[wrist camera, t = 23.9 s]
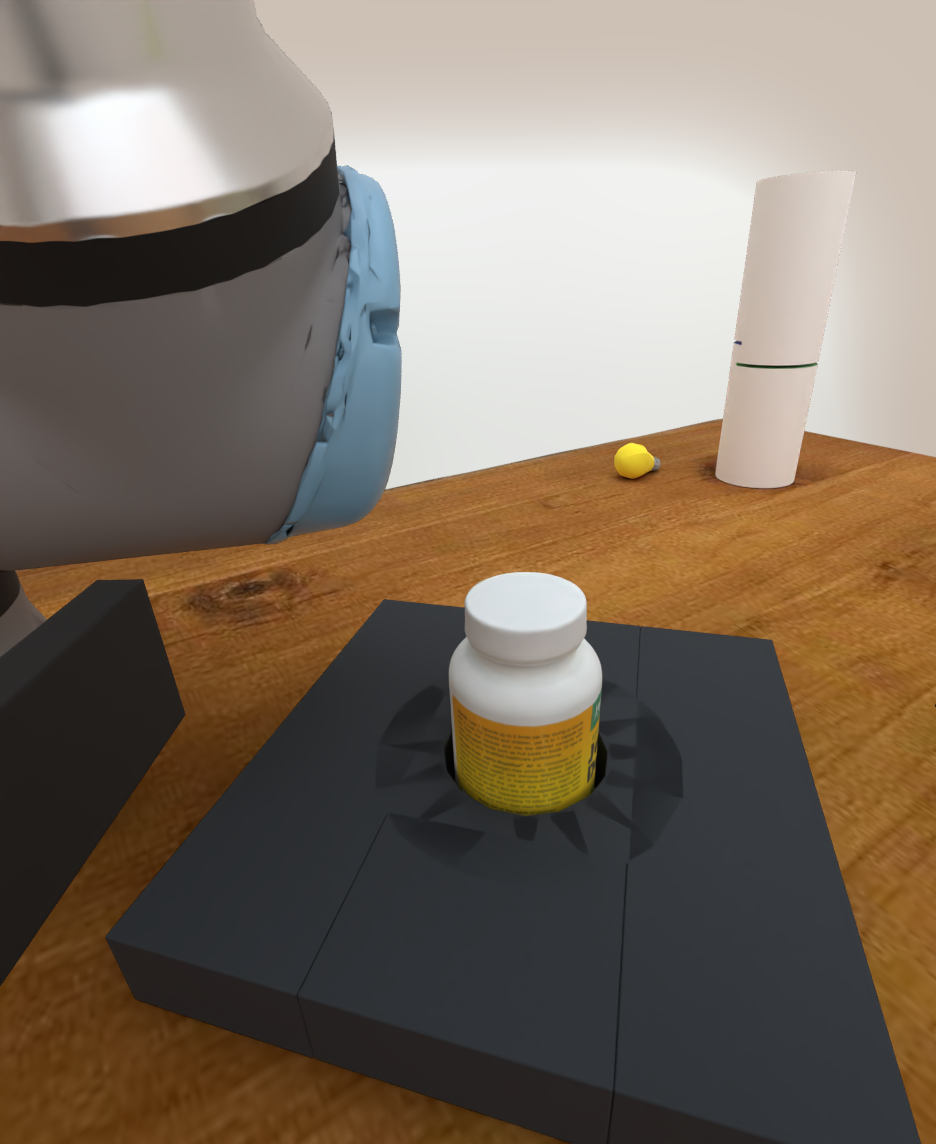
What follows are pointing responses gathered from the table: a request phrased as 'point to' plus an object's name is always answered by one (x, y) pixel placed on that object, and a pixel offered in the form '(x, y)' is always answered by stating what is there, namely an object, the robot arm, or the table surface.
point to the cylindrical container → (781, 324)
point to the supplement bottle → (525, 695)
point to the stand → (539, 906)
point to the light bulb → (634, 461)
